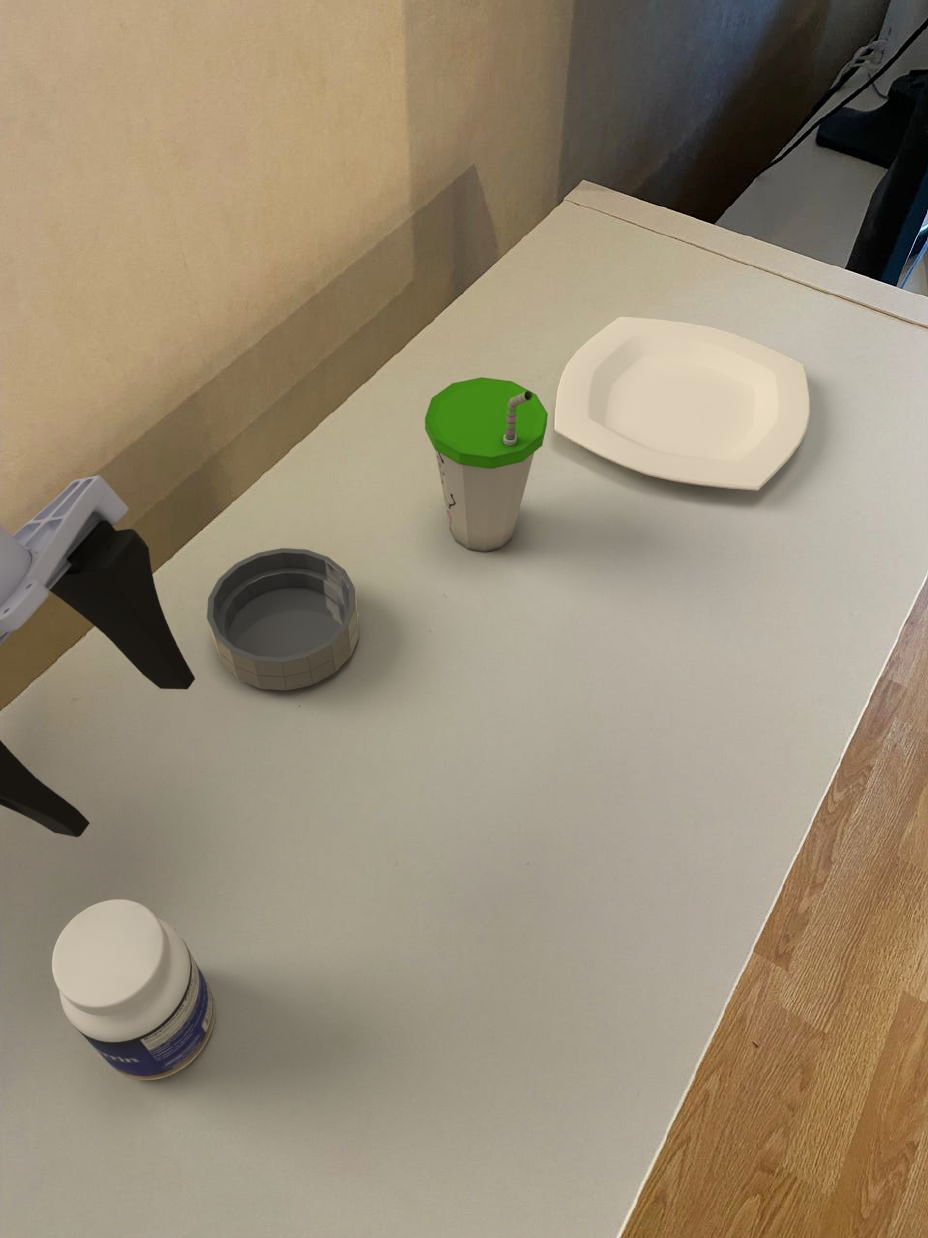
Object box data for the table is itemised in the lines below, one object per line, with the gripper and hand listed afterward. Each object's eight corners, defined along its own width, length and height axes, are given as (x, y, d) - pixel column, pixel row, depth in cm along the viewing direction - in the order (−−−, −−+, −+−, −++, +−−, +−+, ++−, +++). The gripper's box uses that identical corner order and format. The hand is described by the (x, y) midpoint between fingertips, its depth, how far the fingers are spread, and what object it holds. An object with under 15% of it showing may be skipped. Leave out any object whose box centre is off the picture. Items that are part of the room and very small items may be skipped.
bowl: (213, 701, 63) (203, 668, 60) (220, 587, 69) (211, 552, 66) (362, 689, 64) (358, 656, 61) (356, 577, 69) (352, 542, 67)
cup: (427, 490, 75) (423, 315, 63) (533, 489, 75) (548, 315, 63) (427, 570, 70) (423, 396, 58) (540, 569, 70) (559, 395, 58)
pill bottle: (76, 1035, 50) (8, 962, 43) (162, 944, 53) (113, 861, 46) (156, 1109, 48) (100, 1048, 41) (241, 1011, 51) (204, 936, 43)
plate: (772, 530, 73) (779, 510, 71) (521, 455, 77) (523, 435, 76) (824, 376, 84) (831, 356, 82) (602, 318, 88) (605, 299, 87)
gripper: (-249, 672, 29) (72, 917, 37) (66, 372, 37) (277, 625, 45) (-324, 671, 34) (-23, 890, 41) (-27, 403, 42) (179, 628, 49)
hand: (127, 752), depth 43 cm, fingers open, 7 cm apart
